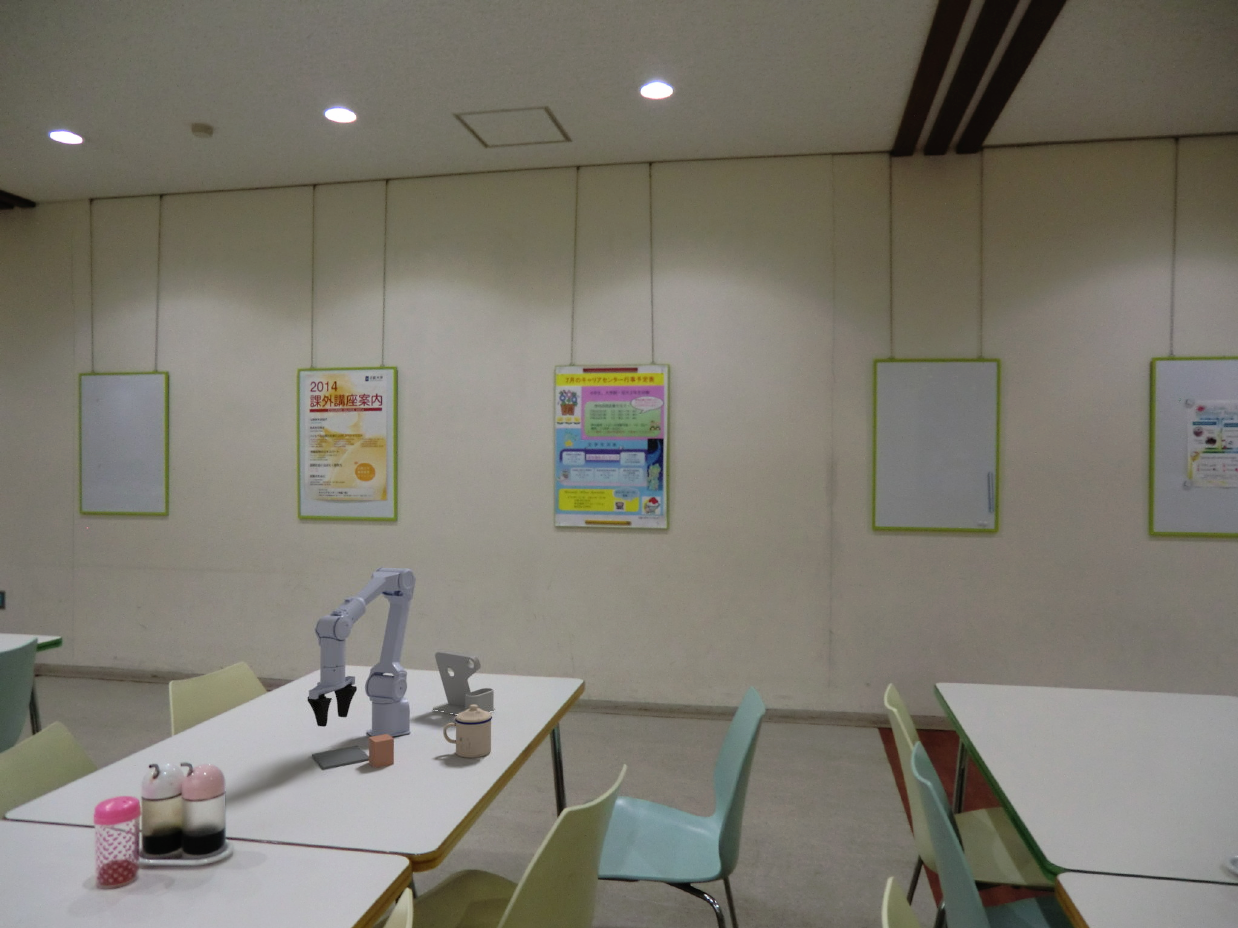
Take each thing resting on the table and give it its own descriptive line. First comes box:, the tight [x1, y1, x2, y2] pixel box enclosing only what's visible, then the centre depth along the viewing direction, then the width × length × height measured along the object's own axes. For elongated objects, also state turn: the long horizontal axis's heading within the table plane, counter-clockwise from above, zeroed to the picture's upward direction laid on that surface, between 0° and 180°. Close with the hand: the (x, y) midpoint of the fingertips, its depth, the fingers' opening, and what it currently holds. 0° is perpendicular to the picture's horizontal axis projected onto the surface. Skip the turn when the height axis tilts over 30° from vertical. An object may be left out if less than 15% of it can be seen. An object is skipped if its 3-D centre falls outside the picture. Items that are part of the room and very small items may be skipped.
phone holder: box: [432, 648, 496, 714], centre depth 231 cm, size 17×10×18 cm, turn 57°
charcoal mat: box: [311, 745, 369, 770], centre depth 190 cm, size 11×11×1 cm
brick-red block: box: [368, 734, 395, 769], centre depth 187 cm, size 4×4×6 cm
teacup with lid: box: [442, 704, 493, 759], centre depth 195 cm, size 12×9×12 cm
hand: (332, 721), depth 190 cm, fingers open, 7 cm apart
